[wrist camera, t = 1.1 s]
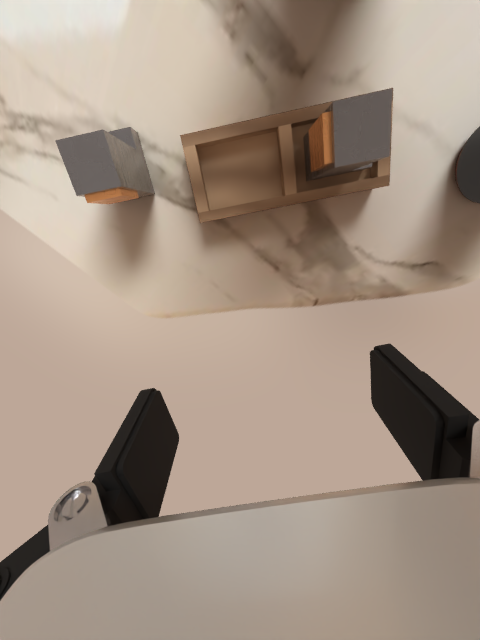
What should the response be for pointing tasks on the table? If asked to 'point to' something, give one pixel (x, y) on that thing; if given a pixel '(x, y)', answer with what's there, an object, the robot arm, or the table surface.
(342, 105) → the twin finger
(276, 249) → the table surface
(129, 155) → the finger
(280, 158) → the wooden divided tray
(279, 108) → the table surface
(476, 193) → the mug
